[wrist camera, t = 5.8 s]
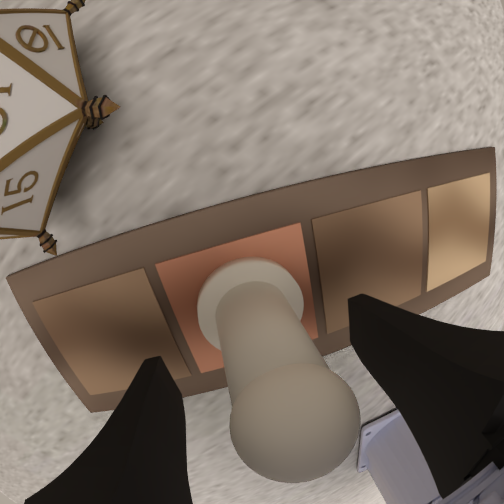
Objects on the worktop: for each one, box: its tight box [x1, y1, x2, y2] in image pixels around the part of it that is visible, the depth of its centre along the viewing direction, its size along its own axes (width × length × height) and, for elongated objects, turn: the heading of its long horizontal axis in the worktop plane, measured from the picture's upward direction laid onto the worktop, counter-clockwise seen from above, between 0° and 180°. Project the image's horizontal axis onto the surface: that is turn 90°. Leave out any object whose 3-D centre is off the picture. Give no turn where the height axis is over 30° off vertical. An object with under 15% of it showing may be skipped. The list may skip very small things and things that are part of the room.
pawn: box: [197, 257, 360, 483], centre depth 9 cm, size 4×4×8 cm
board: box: [6, 147, 496, 413], centre depth 13 cm, size 9×28×1 cm, turn 103°
